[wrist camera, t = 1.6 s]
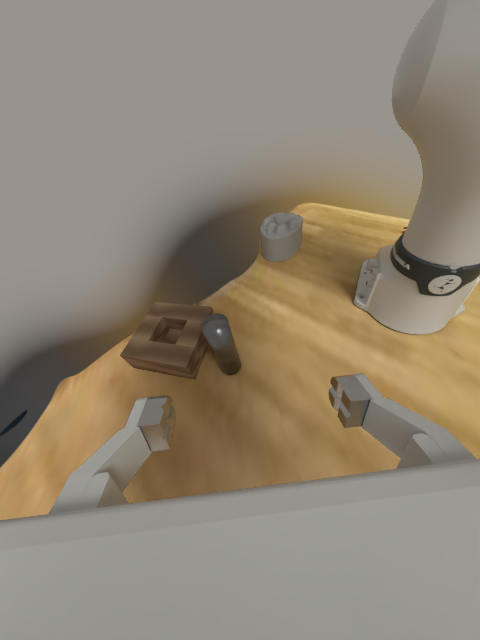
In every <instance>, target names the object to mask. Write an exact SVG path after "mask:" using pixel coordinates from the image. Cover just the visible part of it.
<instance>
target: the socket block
mask: <svg viewBox="0 0 480 640" xmlns="http://www.w3.org/2000/svg"><path fill="white" fill-rule="evenodd" d="M212 314H215V313H214V311H213V308H212V307H205V306H194V305H183V304H172V303H160V302H155V303H154V305H153V307H152V308H151V309H150V311H149V312H148V314H147V315H146V317H145V318H144V320H143V321H142V323H141V325H140V326H139V327H138V329H137V330H136V332H135V334H134V335H133V337H132V338H131V340H130V341H129V343H128V344H127V346H126V347H125V349H124V350H123V352H122V353H121V355H120V356H121V357H122V358H123V359H125V360H126V361H127V362H128V363H129V364H130V365H131V366H132V367H134V368H138V369H143V370H148V371H154V372H159V373H164V374H169V375H174V376H180V377H185V378H190V379H195V378H196V376H197V373H198V371H199V368H200V365H201V363H202V360H203V358H204V355H205V353H206V350H207V348H208V345H209V344H208V341H207V339H206V337H205V335H204V333H203V331H202V329H201V324H202V322H203V320H204V319H205V318H206V317H208V316H209V315H212Z"/></svg>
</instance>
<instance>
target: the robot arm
mask: <svg viewBox="0 0 480 640" xmlns="http://www.w3.org/2000/svg"><path fill="white" fill-rule="evenodd" d="M392 107H393V112H394V115H395V118H396V120H397V122H398V124H399V126H400V127H401V129H402V130H403V131H405V133H407V134H408V136H409V137H410V138H411V139H412V141H413V142H414V144H415V145H416V147H417V150H418V152H419V155H420V158H421V162H422V168H423V181H422V187H421V192H420V195H419V198H418V201H417V204H416V206H415V209H414V212H413V214H412V217H411V219H410V222H409V224H408V226H407V227H404V229H406V231H402V233H403V234H402V235H401V236H400V238H399V239H398V240H397V241H396V242H395V244H393V245H388V246H385V247H383V248H381V249H380V250H379V251H378V253H377V255H376V258H372V259H368V260H365V261H364V262H363V263H362V266H361V270H360V275H359V279H358V284H357V289H356V293H355V298H354V304H355V305H356V306H357V307H359V308H361V309H363V310H365V311H367V312H368V313H370V314H371V315H372V316H373V317H374V318H375V319H376V320H377V321H379V322H380V323H382V324H383V325H385V326H387V327H389V328H391V329H394V330H397V331H400V332H404V333H409V334H429V333H433V332H436V331H439V330H441V329H442V328H444V327H445V326H446V325H447V323H448V322H449V320H450V319H451V318H453V317H456V316H458V315H460V314H461V313H462V312H463V311H464V310H465V306H464V305H463V303H464V301H465V300H466V299H467V297H468V296H469V295H470V293H471V292H472V290H473V289H474V287H475V286H476V285H477V283H478V281H479V277H478V276H479V275H480V0H435V1H434V3H433V4H432V5H431V7H430V8H429V9H428V10H427V12H426V13H425V14H424V16H423V17H422V19H421V20H420V22H419V23H418V25H417V27H416V28H415V30H414V31H413V33H412V35H411V36H410V38H409V40H408V42H407V44H406V46H405V48H404V51H403V53H402V55H401V58H400V60H399V63H398V66H397V70H396V73H395V77H394V82H393V88H392ZM330 383H331V384H332V387H331V388H330V389H329V400H330V402H331V405H332V407H333V408H334V409H335V410H337V411H338V418H339V419H340V421H341V423H342V425H343V426H344V428H349V427H359V426H362V428H363V429H365V430H366V431H367V432H368V433H370V434H371V435H372V436H373V437H375V438H376V439H377V440H378V441H380V442H381V443H382V444H383V445H385V446H386V447H387V448H388V449H390V450H391V451H392V452H393V453H395V454H396V455H397V456H398V457H400V458H401V460H400V462H399V464H398V466H397V468H396V469H393V470H385V471H377V472H370V473H362V474H354V475H347V476H339V477H331V478H323V479H316V480H308V481H300V482H292V483H285V484H277V485H269V486H262V487H254V488H246V489H239V490H231V491H223V492H216V493H208V494H200V495H192V496H185V497H177V498H169V499H162V500H154V501H146V502H139V503H131V504H129V503H128V501H127V500H126V498H125V497H124V495H123V494H122V492H123V490H124V489H125V488H126V486H127V485H128V484H129V482H130V481H131V480H132V478H133V477H134V476H135V474H136V473H137V472H138V470H139V469H140V468H141V466H142V465H143V464H144V462H145V461H146V459H147V458H148V457H149V455H150V454H151V452H153V451H160V450H167V449H170V445H171V440H172V433H171V430H172V429H173V428H174V425H175V409H174V407H173V406H172V405H171V402H172V400H171V397H170V396H158V397H148V398H138V399H137V400H136V402H135V404H134V406H133V409H132V411H131V413H130V416H129V418H128V420H127V423H126V425H125V427H124V429H120V430H119V431H118V432H117V433H116V434H115V435H114V436H113V437H112V438H110V439H109V440H108V441H107V442H106V443H105V444H104V445H103V446H102V447H101V448H100V449H98V450H97V451H96V452H95V453H94V454H93V455H92V456H91V457H90V458H89V459H88V460H86V461H85V462H84V463H83V464H82V465H81V466H80V467H79V468H78V469H77V470H75V471H74V472H73V473H72V474H71V475H70V476H69V478H68V480H67V482H66V483H65V485H64V487H63V489H62V491H61V493H60V494H59V496H58V498H57V500H56V502H55V503H54V505H53V507H52V509H51V511H50V512H49V514H46V515H38V516H30V517H22V518H15V519H7V520H0V640H480V458H477V459H476V458H475V457H474V456H473V455H472V454H471V453H470V452H469V451H468V450H467V449H466V448H465V447H464V446H463V445H462V444H461V443H460V442H459V441H458V440H457V439H456V438H455V437H454V436H453V435H452V434H451V433H450V432H449V431H448V430H447V429H445V428H443V427H441V426H440V425H438V424H436V423H434V422H432V421H430V420H428V419H426V418H424V417H423V416H421V415H419V414H417V413H415V412H413V411H411V410H409V409H407V408H406V407H404V406H402V405H400V404H398V403H396V402H394V401H392V400H390V399H389V398H384V397H383V396H382V395H381V394H380V392H379V391H378V390H377V389H376V388H375V387H374V385H373V384H372V383H371V382H370V381H369V379H368V378H367V377H366V376H365V375H364V374H362V373H361V374H353V375H344V376H336V377H332V378H331V382H330Z"/></svg>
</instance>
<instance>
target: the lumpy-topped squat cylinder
mask: <svg viewBox="0 0 480 640" xmlns="http://www.w3.org/2000/svg"><path fill="white" fill-rule="evenodd" d="M302 223H303V218H302V217H301V216H300V215H296V214H294V213H281V212H278V213H276V214H273V215H271V216H269V217H267V218H265V219H264V220H263V224H262V225H261V227H260V233H261V244H262V254H263V256H264V258H265V259H267V260H268V261H271V262H279V261H283V260H286V259H288V258H290V257H292V256H294V255H295V254H296V253H297V251H298V250H299V248H300V245H301V238H302Z"/></svg>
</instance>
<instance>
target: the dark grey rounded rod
mask: <svg viewBox="0 0 480 640" xmlns="http://www.w3.org/2000/svg"><path fill="white" fill-rule="evenodd" d="M201 329H202V331H203V333H204V335H205V337H206V339H207V341H208V344H209V346H210V348H211V350H212V352H213V354H214V356H215V358H216V360H217V362H218V364H219V366H220V369H221V371H222V372H223V373H224V374H226V375H234V374H236V373H237V372H238V371H239V370H240V368H241V362H240V359H239V355H238V352H237V349H236V346H235V343H234V339H233V336H232V333H231V330H230V327H229V323H228V320H227V318H226V317H225V316H224V315H222V314H212V315H209V316H208V317H206V318H205V319H204V320H203V322H202V324H201Z"/></svg>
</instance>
